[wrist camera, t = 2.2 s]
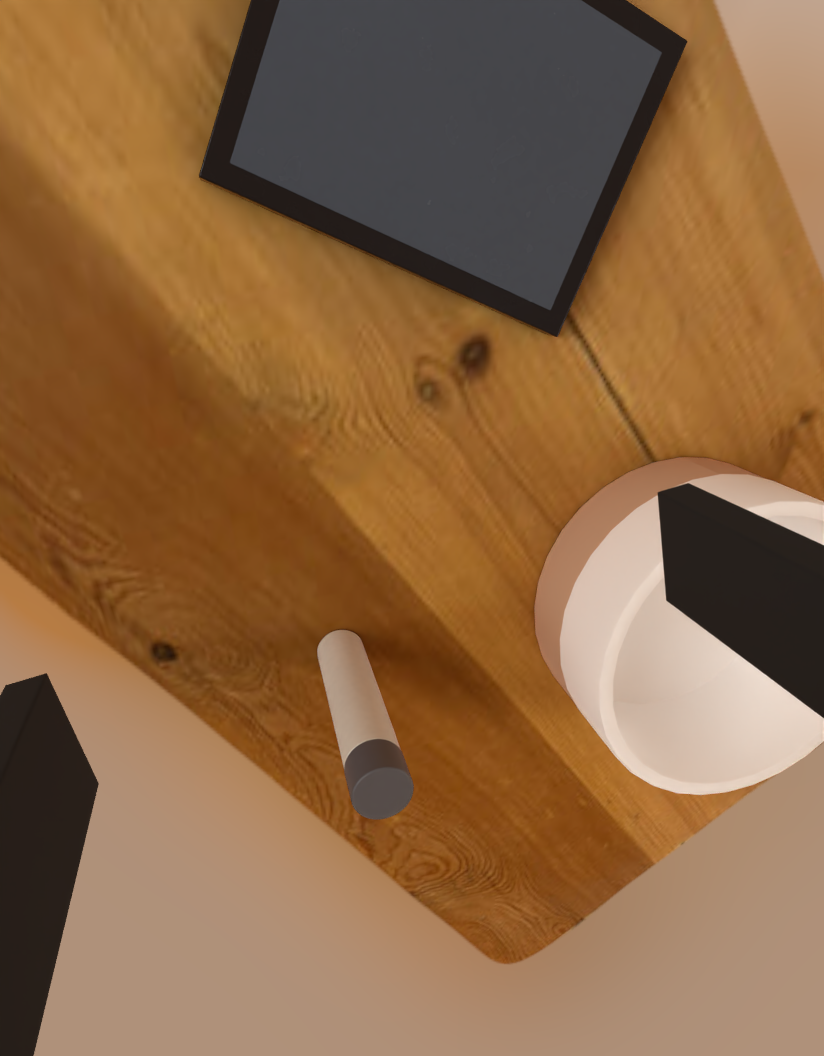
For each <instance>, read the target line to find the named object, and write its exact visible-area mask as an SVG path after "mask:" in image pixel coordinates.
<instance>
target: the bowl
mask: <svg viewBox="0 0 824 1056" xmlns="http://www.w3.org/2000/svg"><path fill="white" fill-rule="evenodd" d="M687 483H690V484H692V485H694V486H696V487H698V488H701V489H703V490H705V491H707V492H709V493H711V494H714V495H716V496H718V497H720V498H722V499H724V500H727V501H729V502H731V503H733V504H735V505H737V506H740V507H742V508H744V509H746V510H748V511H751V512H753V513H755V514H757V515H759V516H761V517H764V518H766V519H768V520H770V521H772V522H774V523H777V524H779V525H781V526H783V527H785V528H787V529H790V530H792V531H794V532H796V533H798V534H801V535H803V536H805V537H807V538H809V539H811V540H814V541H816V542H818V543H820V544H822V545H824V502H823V501H820V500H818V499H816V498H813V497H811V496H808V495H806V494H804V493H801V492H799V491H796V490H794V489H792V488H789V487H787V486H784V485H782V484H780V483H777V482H775V481H772V480H768V479H766V478H763V477H761V476H758V475H756V474H754V473H751V472H749V471H746V470H744V469H742V468H739V467H737V466H734V465H732V464H729V463H725V462H721V461H718V460H714V459H710V458H696V457H679V458H674V459H669V460H663V461H658V462H653V463H651V464H648V465H646V466H643V467H640V468H638V469H635V470H633V471H630V472H628V473H626V474H624V475H623V476H621V477H620V478H618V479H616V480H615V481H613V482H612V483H610V484H608V485H607V486H605V487H603V488H602V489H601V490H600V491H599V492H597V493H596V494H595V495H594V496H593V497H592V498H591V499H590V500H588V501H587V502H586V503H585V504H584V505H583V506H582V507H581V508H580V509H579V510H578V511H577V512H576V514H575V515H574V516H573V517H572V518H571V520H570V521H569V522H568V523H567V525H566V526H565V527H564V528H563V530H562V531H561V533H560V534H559V536H558V538H557V540H556V541H555V543H554V545H553V547H552V549H551V550H550V552H549V554H548V556H547V558H546V561H545V564H544V567H543V570H542V573H541V575H540V578H539V581H538V587H537V593H536V600H535V606H534V612H535V631H536V636H537V640H538V644H539V647H540V651H541V654H542V657H543V659H544V661H545V662H546V664H547V666H548V668H549V669H550V671H551V673H552V675H553V676H554V677H555V679H556V680H557V681H558V683H559V684H560V685H561V686H562V688H563V689H564V690H565V692H566V693H567V694H568V695H569V697H570V698H571V699H572V701H573V702H574V703H575V704H576V706H577V708H578V709H579V711H580V712H581V713H582V714H583V716H584V717H585V718H586V720H587V721H588V722H589V723H590V725H591V726H592V727H593V729H594V730H595V731H596V732H597V734H598V735H599V736H600V738H601V739H602V740H603V741H604V743H605V744H606V745H607V747H608V748H609V749H610V750H611V752H612V753H613V754H614V756H615V757H616V758H617V759H618V760H619V761H620V762H621V763H622V764H623V765H624V766H625V767H626V768H627V769H628V770H629V771H630V772H631V773H633V774H634V775H636V776H638V777H639V778H641V779H643V780H644V781H646V782H648V783H649V784H651V785H653V786H655V787H659V788H662V789H665V790H669V791H672V792H675V793H684V794H696V795H705V794H714V793H723V792H729V791H733V790H736V789H740V788H743V787H747V786H750V785H754V784H756V783H758V782H760V781H763V780H765V779H767V778H769V777H771V776H774V775H776V774H778V773H780V772H782V771H783V770H785V769H786V768H788V767H790V766H791V765H793V764H794V763H796V762H797V761H799V760H801V759H802V758H804V757H805V756H806V755H808V754H809V753H810V752H811V751H812V750H814V749H815V748H816V747H817V746H818V745H820V744H821V743H822V742H823V741H824V718H823V717H821V716H820V715H818V714H817V713H816V712H814V711H813V710H812V709H810V708H809V707H808V706H806V705H805V704H804V703H802V702H801V701H800V700H798V699H797V698H796V697H794V696H793V695H792V694H790V693H789V692H788V691H786V690H785V689H784V688H782V687H781V686H780V685H778V684H777V683H776V682H774V681H773V680H772V679H770V678H769V677H768V676H766V675H765V674H764V673H762V672H761V671H760V670H758V669H757V668H756V667H754V666H753V665H752V664H750V663H749V662H748V661H746V660H745V659H744V658H742V657H741V656H740V655H738V654H737V653H736V652H734V651H733V650H732V649H730V648H729V647H728V646H726V645H725V644H724V643H722V642H721V641H720V640H718V639H717V638H716V637H714V636H713V635H712V634H710V633H709V632H707V631H706V630H705V629H703V628H702V627H701V626H699V625H698V624H697V623H695V622H694V621H693V620H691V619H690V618H689V617H687V616H686V615H685V614H683V613H682V612H681V611H679V610H678V609H677V608H675V607H674V606H673V605H671V604H670V603H669V602H667V601H666V593H665V580H664V568H663V555H662V543H661V530H660V518H659V505H658V493H657V492H660V491H663V490H666V489H670V488H673V487H677V486H680V485H683V484H687Z"/></svg>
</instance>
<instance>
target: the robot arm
mask: <svg viewBox="0 0 824 1056" xmlns="http://www.w3.org/2000/svg"><path fill="white" fill-rule="evenodd" d="M657 493H658V505H659V518H660V530H661V543H662V555H663V568H664V580H665V593H666V601H667V602H669V603H670V604H671V605H673V606H674V607H675V608H677V609H678V610H679V611H681V612H682V613H683V614H685V615H686V616H687V617H689V618H690V619H691V620H693V621H694V622H695V623H697V624H698V625H699V626H701V627H702V628H703V629H705V630H706V631H707V632H709V633H710V634H712V635H713V636H714V637H716V638H717V639H718V640H720V641H721V642H722V643H724V644H725V645H726V646H728V647H729V648H730V649H732V650H733V651H734V652H736V653H737V654H738V655H740V656H741V657H742V658H744V659H745V660H746V661H748V662H749V663H750V664H752V665H753V666H754V667H756V668H757V669H758V670H760V671H761V672H762V673H764V674H765V675H766V676H768V677H769V678H770V679H772V680H773V681H774V682H776V683H777V684H778V685H780V686H781V687H782V688H784V689H785V690H786V691H788V692H789V693H790V694H792V695H793V696H794V697H796V698H797V699H798V700H800V701H801V702H802V703H804V704H805V705H806V706H808V707H809V708H810V709H812V710H813V711H814V712H816V713H817V714H818V715H820V716H821V717H823V718H824V545H822V544H820V543H818V542H816V541H814V540H811V539H809V538H807V537H805V536H803V535H801V534H798V533H796V532H794V531H792V530H790V529H787V528H785V527H783V526H781V525H779V524H777V523H774V522H772V521H770V520H768V519H766V518H764V517H761V516H759V515H757V514H755V513H753V512H751V511H748V510H746V509H744V508H742V507H740V506H737V505H735V504H733V503H731V502H729V501H727V500H724V499H722V498H720V497H718V496H716V495H714V494H711V493H709V492H707V491H705V490H703V489H701V488H698V487H696V486H694V485H692V484H690V483H687V484H683V485H680V486H677V487H673V488H670V489H666V490H663V491H660V492H657ZM97 788H98V782H97V779H96V777H95V775H94V773H93V771H92V769H91V766H90V764H89V762H88V760H87V758H86V756H85V754H84V752H83V749H82V747H81V745H80V743H79V741H78V739H77V737H76V735H75V733H74V730H73V728H72V726H71V724H70V722H69V720H68V718H67V716H66V714H65V711H64V709H63V707H62V705H61V703H60V701H59V699H58V696H57V694H56V692H55V690H54V688H53V686H52V684H51V682H50V679H49V677H48V675H47V674H43V675H39V676H36V677H33V678H29V679H26V680H23V681H20V682H16V683H12V684H9V685H6V686H5V688H4V690H3V692H2V694H1V695H0V1056H33V1055H34V1051H35V1047H36V1043H37V1039H38V1035H39V1030H40V1026H41V1022H42V1018H43V1013H44V1009H45V1005H46V1001H47V997H48V993H49V988H50V984H51V980H52V976H53V972H54V968H55V963H56V959H57V955H58V951H59V947H60V943H61V938H62V934H63V930H64V926H65V922H66V917H67V913H68V909H69V905H70V901H71V897H72V892H73V888H74V884H75V879H76V876H77V871H78V867H79V863H80V859H81V855H82V851H83V846H84V842H85V838H86V834H87V830H88V825H89V821H90V817H91V813H92V809H93V804H94V800H95V796H96V792H97Z"/></svg>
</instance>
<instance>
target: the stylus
mask: <svg viewBox="0 0 824 1056" xmlns="http://www.w3.org/2000/svg"><path fill="white" fill-rule="evenodd" d="M317 655H318V660H319V664H320V668H321V673H322V677H323V681H324V685H325V690H326V694H327V698H328V702H329V706H330V711H331V715H332V719H333V723H334V728H335V732H336V736H337V740H338V745H339V749H340V753H341V757H342V762H343V766H344V771H345V776H346V781H347V785H348V789H349V793H350V798H351V802H352V805H353V807H354V809H355V810H356V811H357V812H358V813H359V814H360V815H362V816H364V817H366V818H370V819H384V818H388V817H391V816H393V815H395V814H397V813H399V812H400V811H402V810H403V809H404V808H405V807H406V806H407V804H408V803H409V801H410V800H411V797H412V794H413V788H414V787H413V781H412V778H411V776H410V773H409V770H408V767H407V765H406V762H405V759H404V756H403V754H402V751H401V749H400V746H399V744H398V741H397V738H396V735H395V732H394V730H393V727H392V724H391V721H390V718H389V716H388V713H387V710H386V707H385V705H384V702H383V699H382V696H381V693H380V691H379V688H378V685H377V682H376V679H375V677H374V674H373V671H372V668H371V665H370V663H369V660H368V657H367V654H366V651H365V649H364V646H363V643H362V641H361V639H360V638H359V636H358V635H357V634H355V633H353V632H351V631H348V630H336V631H333V632H331V633H329V634H327V635H326V636H325V637H324V638H323V639H322V640H321V642H320V643H319V646H318V650H317Z"/></svg>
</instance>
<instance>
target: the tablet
mask: <svg viewBox="0 0 824 1056" xmlns="http://www.w3.org/2000/svg"><path fill="white" fill-rule="evenodd" d="M686 43H687V41H686V40H685V39H683V38H682V37H680V36H679V35H677V34H676V33H674V32H673V31H671V30H670V29H668V28H667V27H665V26H664V25H662V24H661V23H659V22H658V21H656V20H655V19H653V18H652V17H650V16H649V15H647V14H646V13H644V12H643V11H641V10H640V9H638V8H637V7H635V6H634V5H632V4H631V3H629V2H628V1H626V0H251V2H250V6H249V9H248V12H247V16H246V19H245V22H244V26H243V29H242V32H241V36H240V39H239V43H238V46H237V49H236V53H235V56H234V59H233V63H232V66H231V69H230V73H229V76H228V80H227V83H226V86H225V90H224V93H223V96H222V100H221V103H220V106H219V110H218V113H217V117H216V120H215V123H214V127H213V130H212V133H211V137H210V140H209V143H208V147H207V150H206V154H205V157H204V160H203V164H202V167H201V170H200V174H199V178H200V180H202V181H204V182H206V183H209V184H211V185H213V186H215V187H218V188H220V189H222V190H224V191H227V192H229V193H231V194H233V195H236V196H238V197H240V198H242V199H245V200H247V201H249V202H251V203H253V204H256V205H258V206H260V207H262V208H265V209H267V210H269V211H271V212H274V213H276V214H278V215H280V216H283V217H285V218H287V219H289V220H292V221H294V222H296V223H298V224H301V225H303V226H305V227H307V228H310V229H312V230H314V231H316V232H319V233H321V234H323V235H325V236H327V237H330V238H332V239H334V240H336V241H339V242H341V243H343V244H345V245H348V246H350V247H352V248H354V249H357V250H359V251H361V252H363V253H366V254H368V255H370V256H372V257H375V258H377V259H379V260H381V261H384V262H386V263H388V264H390V265H392V266H395V267H397V268H399V269H401V270H404V271H406V272H408V273H410V274H413V275H415V276H417V277H419V278H422V279H424V280H426V281H428V282H431V283H433V284H435V285H437V286H440V287H442V288H444V289H446V290H449V291H451V292H453V293H455V294H457V295H460V296H462V297H464V298H466V299H469V300H471V301H473V302H475V303H478V304H480V305H482V306H484V307H487V308H489V309H491V310H493V311H496V312H498V313H500V314H502V315H505V316H507V317H509V318H511V319H514V320H516V321H518V322H520V323H522V324H525V325H527V326H529V327H531V328H534V329H536V330H538V331H540V332H543V333H545V334H547V335H551V336H555V337H558V335H559V332H560V330H561V328H562V326H563V323H564V321H565V319H566V316H567V314H568V312H569V310H570V307H571V305H572V303H573V301H574V298H575V296H576V294H577V291H578V289H579V287H580V285H581V282H582V280H583V278H584V275H585V273H586V271H587V269H588V266H589V264H590V262H591V260H592V257H593V255H594V253H595V250H596V248H597V246H598V244H599V241H600V239H601V237H602V235H603V232H604V230H605V228H606V225H607V223H608V221H609V219H610V216H611V214H612V212H613V209H614V207H615V205H616V203H617V200H618V198H619V196H620V194H621V191H622V189H623V187H624V184H625V182H626V180H627V178H628V175H629V173H630V171H631V169H632V166H633V164H634V162H635V159H636V157H637V155H638V153H639V150H640V148H641V146H642V143H643V141H644V139H645V137H646V134H647V132H648V130H649V128H650V125H651V123H652V121H653V118H654V116H655V114H656V112H657V109H658V107H659V105H660V103H661V100H662V98H663V96H664V93H665V91H666V89H667V87H668V84H669V82H670V80H671V77H672V75H673V73H674V71H675V68H676V66H677V64H678V62H679V59H680V57H681V55H682V52H683V50H684V48H685V46H686Z"/></svg>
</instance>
